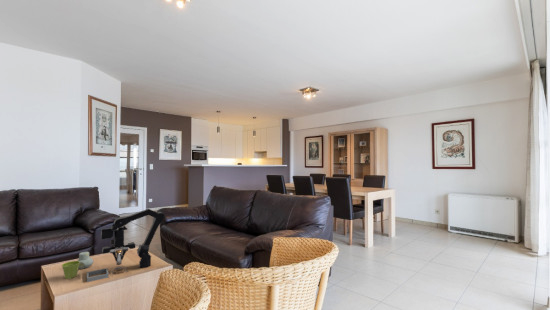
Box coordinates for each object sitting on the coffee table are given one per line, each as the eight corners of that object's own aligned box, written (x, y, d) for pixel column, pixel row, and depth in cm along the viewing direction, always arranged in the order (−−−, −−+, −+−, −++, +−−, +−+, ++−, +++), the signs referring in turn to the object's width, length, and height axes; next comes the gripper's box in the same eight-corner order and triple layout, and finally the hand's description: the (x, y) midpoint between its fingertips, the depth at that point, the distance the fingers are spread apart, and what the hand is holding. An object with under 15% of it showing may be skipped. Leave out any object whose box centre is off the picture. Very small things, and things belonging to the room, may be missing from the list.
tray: (107, 272, 180) (107, 268, 180) (108, 278, 170) (108, 273, 171) (86, 277, 173) (86, 272, 173) (87, 283, 164) (87, 278, 164)
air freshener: (95, 264, 194) (95, 250, 194) (87, 269, 185) (87, 255, 186) (80, 264, 194) (81, 250, 194) (71, 269, 186) (72, 254, 186)
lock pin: (121, 262, 181) (122, 249, 182) (122, 264, 178) (122, 250, 179) (115, 263, 179) (115, 250, 179) (115, 265, 176) (116, 251, 176)
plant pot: (78, 278, 172) (78, 264, 172) (60, 281, 167) (60, 267, 167) (80, 272, 180) (80, 259, 180) (63, 276, 175) (63, 262, 175)
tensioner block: (126, 267, 188) (126, 264, 188) (128, 273, 179) (128, 269, 179) (109, 271, 182) (109, 268, 182) (110, 276, 173) (110, 273, 173)
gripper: (133, 232, 191) (132, 254, 191) (101, 236, 180) (101, 260, 180) (135, 235, 182) (135, 258, 182) (102, 240, 171) (102, 265, 171)
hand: (119, 260), depth 179 cm, fingers closed on lock pin, 3 cm apart
